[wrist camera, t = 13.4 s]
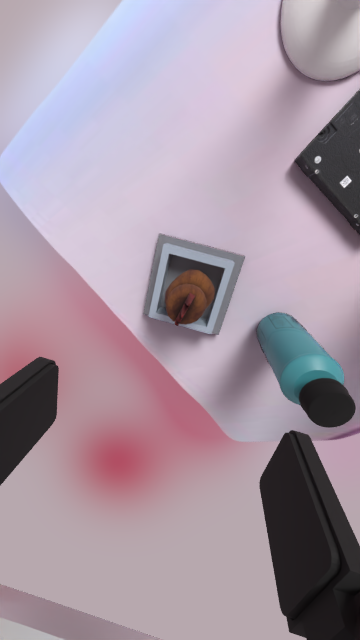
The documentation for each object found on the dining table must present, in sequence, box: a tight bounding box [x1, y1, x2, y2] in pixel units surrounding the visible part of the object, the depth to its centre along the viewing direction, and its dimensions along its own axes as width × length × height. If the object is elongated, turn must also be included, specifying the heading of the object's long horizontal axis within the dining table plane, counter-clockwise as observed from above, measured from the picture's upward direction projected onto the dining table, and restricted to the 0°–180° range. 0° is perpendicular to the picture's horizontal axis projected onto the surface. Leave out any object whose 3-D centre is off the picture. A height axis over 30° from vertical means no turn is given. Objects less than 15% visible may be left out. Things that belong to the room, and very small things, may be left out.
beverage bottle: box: [257, 313, 355, 427], centre depth 29 cm, size 6×7×20 cm
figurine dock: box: [143, 234, 245, 335], centre depth 36 cm, size 13×13×4 cm
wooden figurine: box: [165, 269, 215, 326], centre depth 30 cm, size 7×6×15 cm
